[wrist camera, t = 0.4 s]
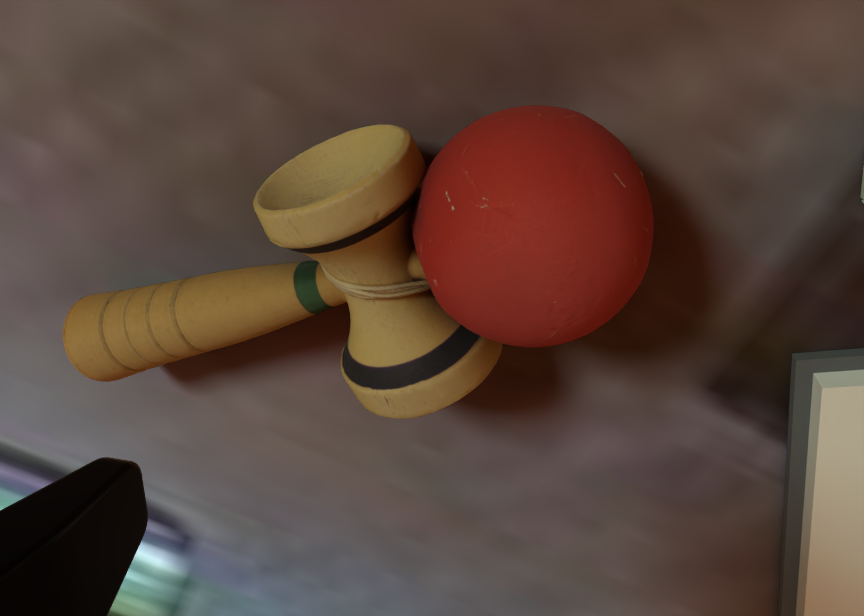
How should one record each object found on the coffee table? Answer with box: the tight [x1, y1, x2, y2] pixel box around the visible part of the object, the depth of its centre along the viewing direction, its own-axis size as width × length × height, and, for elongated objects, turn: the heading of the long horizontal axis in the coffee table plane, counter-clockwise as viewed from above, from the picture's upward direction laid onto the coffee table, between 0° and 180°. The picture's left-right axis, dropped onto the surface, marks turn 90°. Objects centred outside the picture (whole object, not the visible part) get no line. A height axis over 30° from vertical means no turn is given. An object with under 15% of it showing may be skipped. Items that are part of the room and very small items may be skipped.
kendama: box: [63, 105, 654, 419], centre depth 20 cm, size 8×6×18 cm
